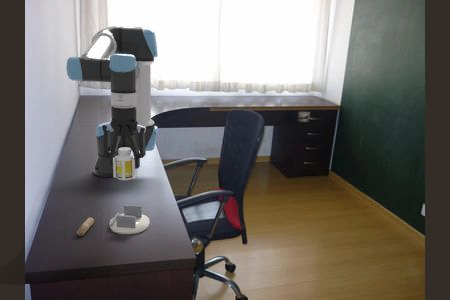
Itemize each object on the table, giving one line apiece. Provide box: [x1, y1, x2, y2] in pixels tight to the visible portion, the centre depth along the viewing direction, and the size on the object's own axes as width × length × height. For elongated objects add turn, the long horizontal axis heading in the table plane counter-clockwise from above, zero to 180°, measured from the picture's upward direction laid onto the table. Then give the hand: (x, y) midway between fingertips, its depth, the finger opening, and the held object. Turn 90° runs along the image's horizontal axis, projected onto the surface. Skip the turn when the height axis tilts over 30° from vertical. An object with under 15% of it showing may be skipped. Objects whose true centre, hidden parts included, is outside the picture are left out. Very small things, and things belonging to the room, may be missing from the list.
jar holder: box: [108, 204, 150, 235], centre depth 124 cm, size 13×13×5 cm
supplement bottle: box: [116, 147, 134, 181], centre depth 119 cm, size 5×5×10 cm
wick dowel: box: [76, 217, 95, 236], centre depth 120 cm, size 8×2×2 cm
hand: (125, 176), depth 120 cm, fingers closed on supplement bottle, 5 cm apart
